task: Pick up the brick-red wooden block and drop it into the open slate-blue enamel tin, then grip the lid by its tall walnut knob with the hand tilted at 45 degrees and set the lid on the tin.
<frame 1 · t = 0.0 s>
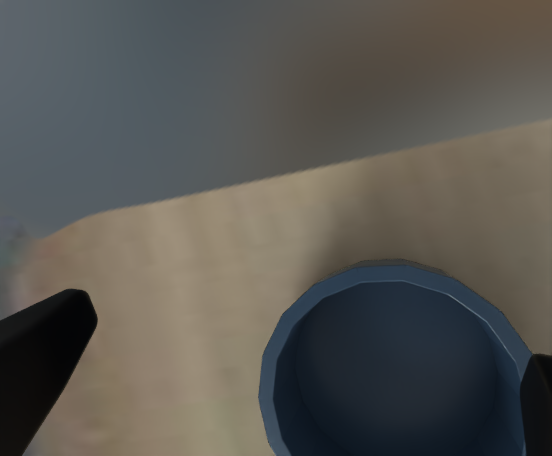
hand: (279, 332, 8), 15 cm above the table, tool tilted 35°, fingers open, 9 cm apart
tin: (390, 366, 22), on the table
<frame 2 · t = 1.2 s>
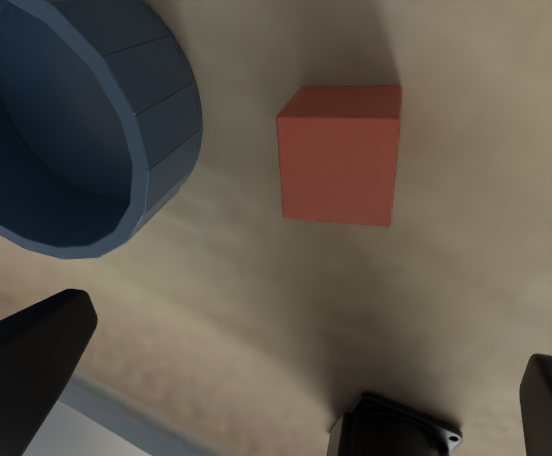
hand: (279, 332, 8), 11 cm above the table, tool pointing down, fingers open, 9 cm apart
block: (349, 134, 18), on the table
tin: (92, 102, 20), on the table
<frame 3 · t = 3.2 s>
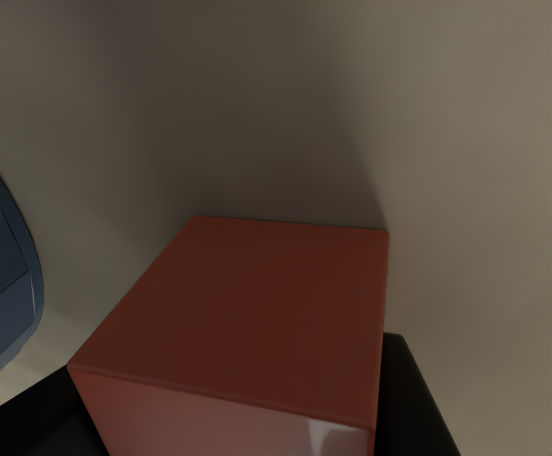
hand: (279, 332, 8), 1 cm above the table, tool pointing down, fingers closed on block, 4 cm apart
block: (290, 298, 9), on the table, touching gripper
when the fingers open (7 cm above the table, at t = 7.1 s): block drops 6 cm, resting on tin.
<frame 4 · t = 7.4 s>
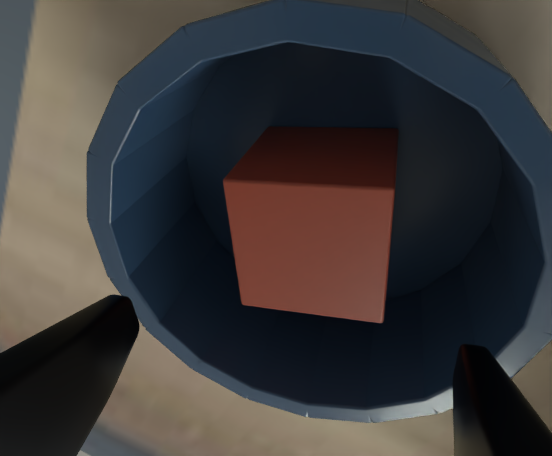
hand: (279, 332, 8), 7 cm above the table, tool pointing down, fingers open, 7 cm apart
block: (330, 185, 14), resting on tin
tin: (331, 181, 14), on the table
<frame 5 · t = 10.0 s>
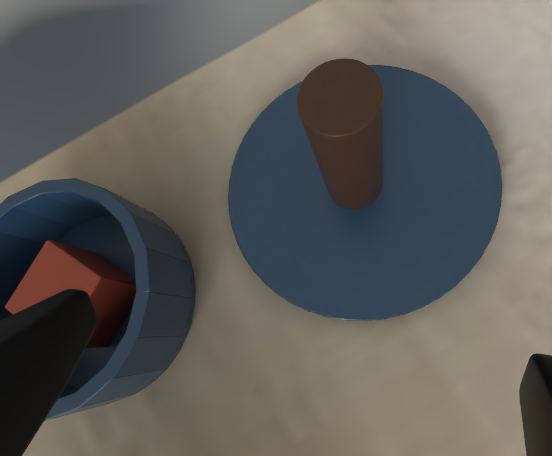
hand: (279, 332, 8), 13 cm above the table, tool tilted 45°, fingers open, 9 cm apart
block: (102, 298, 24), resting on tin
tin lid: (355, 187, 22), point 1 cm above the table
tin: (106, 299, 25), on the table
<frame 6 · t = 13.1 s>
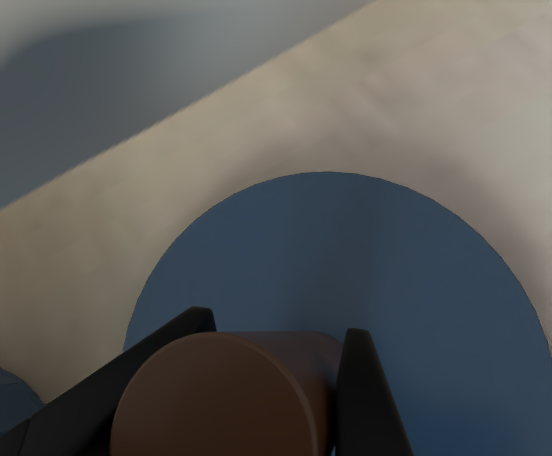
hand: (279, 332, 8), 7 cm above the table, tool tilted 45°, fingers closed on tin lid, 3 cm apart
tin lid: (315, 374, 14), point 1 cm above the table, touching gripper
when the fingers open (11 cm above the table, at t = 18.5 s): tin lid stays where it is, resting on block, tin.
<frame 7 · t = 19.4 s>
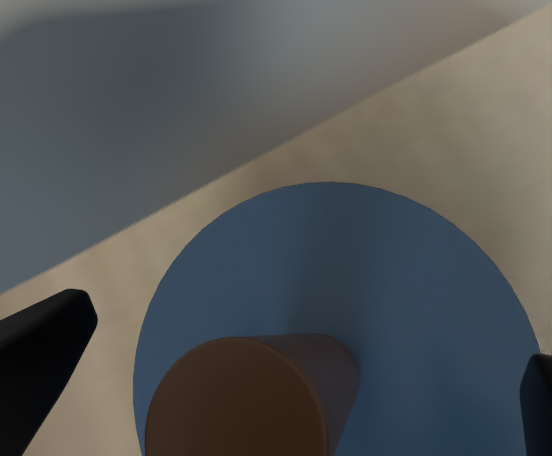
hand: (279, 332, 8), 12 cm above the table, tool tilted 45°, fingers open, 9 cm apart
tin lid: (319, 374, 15), point 5 cm above the table, touching block, tin
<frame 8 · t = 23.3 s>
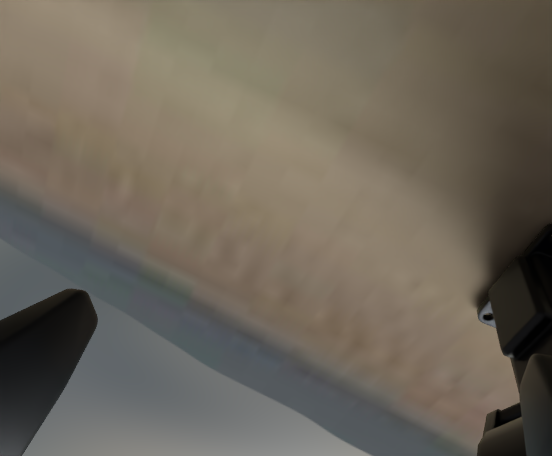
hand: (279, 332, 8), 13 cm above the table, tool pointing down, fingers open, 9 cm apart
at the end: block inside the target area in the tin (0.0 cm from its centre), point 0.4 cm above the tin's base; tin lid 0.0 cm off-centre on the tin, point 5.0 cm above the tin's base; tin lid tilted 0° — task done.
